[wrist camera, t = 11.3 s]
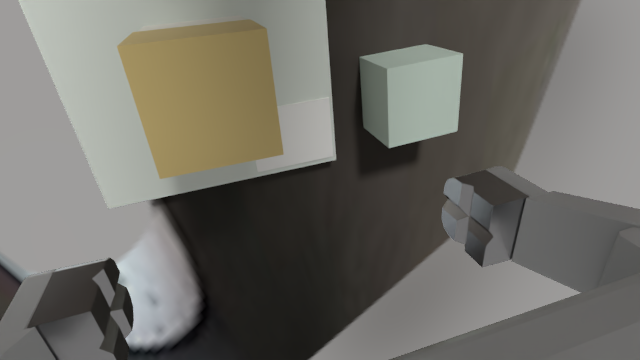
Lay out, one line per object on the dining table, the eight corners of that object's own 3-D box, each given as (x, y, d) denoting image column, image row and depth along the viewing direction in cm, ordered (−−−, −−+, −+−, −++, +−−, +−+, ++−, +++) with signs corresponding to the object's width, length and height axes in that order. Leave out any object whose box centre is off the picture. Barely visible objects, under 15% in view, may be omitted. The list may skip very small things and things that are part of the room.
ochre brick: (132, 32, 19) (116, 46, 15) (250, 18, 20) (266, 28, 16) (165, 141, 22) (159, 179, 18) (266, 123, 23) (283, 154, 19)
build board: (-9, -83, 20) (-79, -106, 15) (312, -99, 24) (347, -122, 19) (111, 201, 29) (94, 249, 23) (331, 154, 33) (358, 186, 28)
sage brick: (358, 56, 30) (387, 68, 25) (425, 44, 31) (463, 53, 27) (362, 126, 33) (388, 148, 28) (423, 112, 34) (457, 131, 30)
